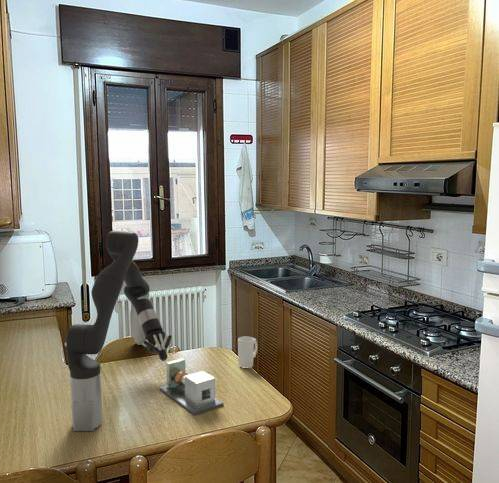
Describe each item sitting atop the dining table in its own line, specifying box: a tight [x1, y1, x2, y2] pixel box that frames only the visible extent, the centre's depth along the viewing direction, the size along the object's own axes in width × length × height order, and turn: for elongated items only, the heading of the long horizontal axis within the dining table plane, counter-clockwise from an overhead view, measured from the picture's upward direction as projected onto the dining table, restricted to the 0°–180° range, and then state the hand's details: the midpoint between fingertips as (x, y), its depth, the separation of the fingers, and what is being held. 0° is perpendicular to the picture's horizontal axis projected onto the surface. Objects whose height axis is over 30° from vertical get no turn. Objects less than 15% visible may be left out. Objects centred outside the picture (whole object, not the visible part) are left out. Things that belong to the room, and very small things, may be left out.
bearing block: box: [159, 370, 225, 416], centre depth 175 cm, size 25×12×10 cm, turn 38°
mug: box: [237, 336, 258, 369], centre depth 205 cm, size 10×7×12 cm, turn 132°
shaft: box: [166, 358, 188, 387], centre depth 178 cm, size 15×7×9 cm, turn 38°
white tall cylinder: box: [129, 292, 150, 345], centre depth 228 cm, size 10×10×28 cm
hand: (164, 359), depth 189 cm, fingers closed
